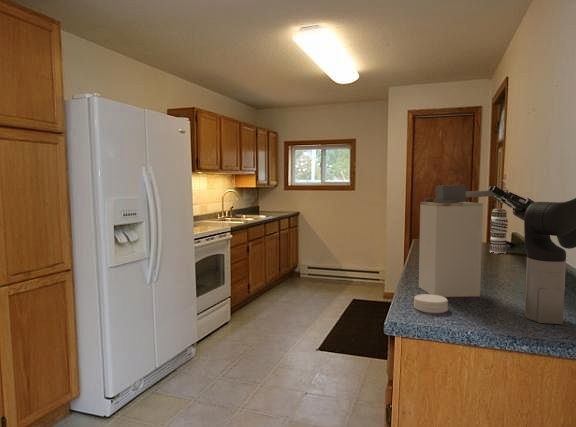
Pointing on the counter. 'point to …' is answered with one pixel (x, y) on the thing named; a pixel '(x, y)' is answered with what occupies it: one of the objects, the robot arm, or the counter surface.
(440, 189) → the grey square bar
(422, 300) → the coaster
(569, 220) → the robot arm
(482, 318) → the counter surface
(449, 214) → the cabinet
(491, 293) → the counter surface
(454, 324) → the counter surface
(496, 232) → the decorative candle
